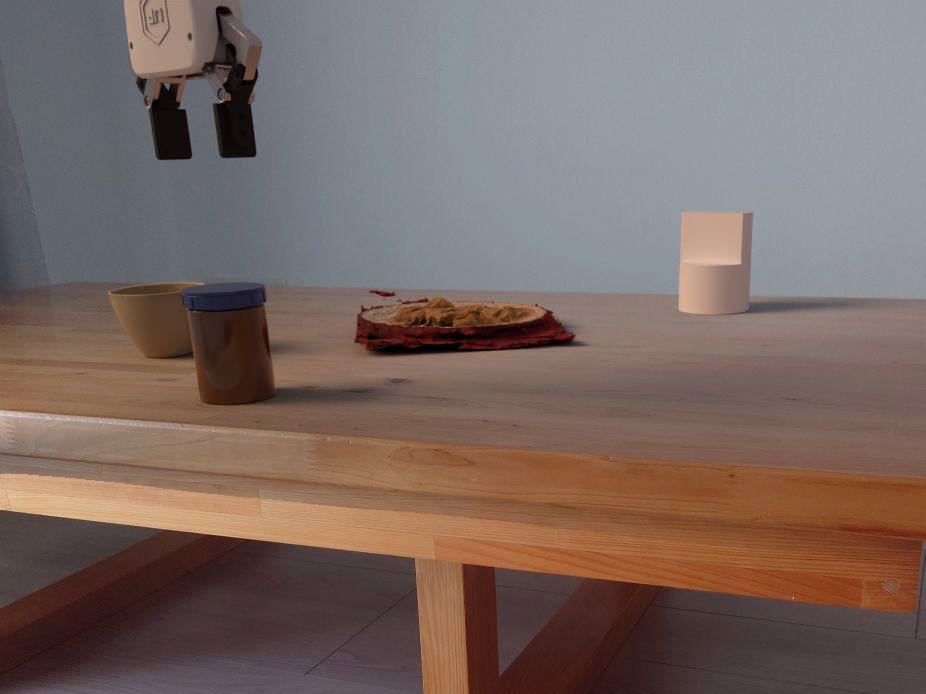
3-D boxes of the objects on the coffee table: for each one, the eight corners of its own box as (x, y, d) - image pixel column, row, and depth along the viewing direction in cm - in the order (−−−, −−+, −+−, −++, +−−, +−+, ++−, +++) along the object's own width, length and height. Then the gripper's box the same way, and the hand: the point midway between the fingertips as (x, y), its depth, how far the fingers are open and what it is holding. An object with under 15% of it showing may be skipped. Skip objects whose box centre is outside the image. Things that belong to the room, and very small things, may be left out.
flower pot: (152, 345, 117) (142, 282, 115) (231, 345, 115) (222, 281, 113) (100, 362, 108) (88, 294, 106) (185, 363, 106) (174, 293, 103)
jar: (219, 408, 86) (203, 299, 83) (188, 396, 91) (172, 293, 88) (289, 395, 90) (276, 290, 87) (255, 384, 95) (242, 285, 92)
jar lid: (204, 312, 83) (201, 295, 83) (171, 304, 88) (168, 288, 88) (280, 302, 87) (278, 286, 87) (244, 296, 92) (242, 280, 92)
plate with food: (355, 359, 107) (352, 326, 105) (362, 316, 130) (360, 289, 129) (576, 351, 109) (577, 319, 108) (544, 310, 133) (544, 284, 132)
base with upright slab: (666, 311, 130) (668, 214, 125) (697, 302, 137) (700, 209, 132) (730, 316, 125) (734, 215, 120) (760, 306, 132) (765, 210, 127)
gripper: (68, -73, 80) (108, 161, 86) (194, -112, 69) (229, 158, 76) (154, -61, 85) (186, 159, 91) (282, -95, 75) (308, 155, 81)
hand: (205, 157), depth 83 cm, fingers open, 8 cm apart
